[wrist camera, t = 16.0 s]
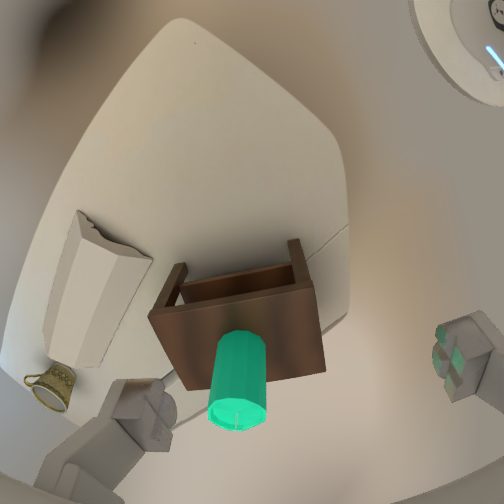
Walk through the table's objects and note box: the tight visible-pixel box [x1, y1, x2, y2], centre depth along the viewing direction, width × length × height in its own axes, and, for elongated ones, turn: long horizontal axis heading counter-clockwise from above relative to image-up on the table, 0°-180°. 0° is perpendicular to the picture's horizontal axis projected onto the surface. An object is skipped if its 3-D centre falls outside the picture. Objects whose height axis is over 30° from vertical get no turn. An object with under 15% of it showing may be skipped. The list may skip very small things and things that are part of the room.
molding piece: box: [43, 210, 153, 368], centre depth 52 cm, size 32×12×10 cm
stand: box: [147, 239, 326, 391], centre depth 44 cm, size 20×14×14 cm
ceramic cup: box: [24, 363, 76, 414], centre depth 58 cm, size 13×10×10 cm
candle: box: [207, 330, 266, 431], centre depth 32 cm, size 6×6×12 cm
